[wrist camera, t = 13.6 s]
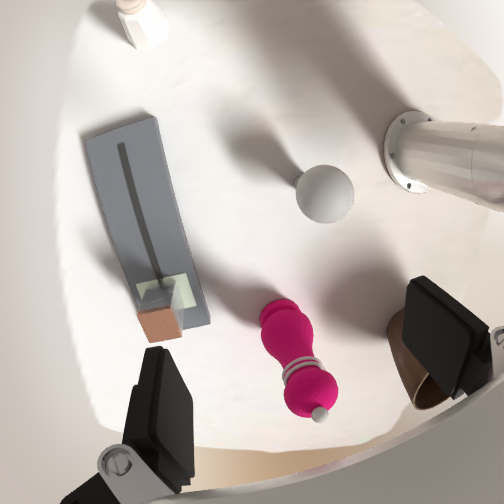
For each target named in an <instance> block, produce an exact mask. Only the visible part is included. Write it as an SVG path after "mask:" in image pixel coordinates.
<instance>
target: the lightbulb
mask: <svg viewBox="0 0 504 504" xmlns="http://www.w3.org/2000/svg"><path fill="white" fill-rule="evenodd" d="M295 188H296V199H297V203H298V205H299V208H300V209H301V211H302V212H303V213H304V214H305V215H306V216H307V217H308V218H309V219H311V220H313V221H315V222H319V223H333V222H336V221H338V220H340V219H342V218H343V217H344V216H345V215H346V214H347V213H348V212H349V211H350V209H351V207H352V205H353V201H354V188H353V185H352V183H351V181H350V179H349V177H348V176H347V175H346V174H345V173H344V172H343V171H341V170H340V169H338V168H336V167H334V166H330V165H319V166H315V167H313V168H310V169H309V170H307V171H306V172H305V173H304V174H302V175H300V176H298V177H297V178H296V180H295Z"/></svg>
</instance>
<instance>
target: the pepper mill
mask: <svg viewBox="0 0 504 504" xmlns="http://www.w3.org/2000/svg"><path fill="white" fill-rule="evenodd" d="M260 324H261V327H262V330H261V340H262V342H263V345H264V347H265V349H266V350H267V351H268V353H269V354H270V355H271V356H273V357H274V358H275V359H277V360H278V361H279V362H280V364H281V365H282V367H283V369H284V370H283V373H282V379H283V381H284V385H285V389H284V400H285V403H286V405H287V407H288V408H289V409H290V410H291V411H292V413H294V414H296V415H298V416H301V417H306V418H311V417H312V419H313V420H314V421H315V422H317V423H322V422H324V421H326V420H327V418H328V415H329V413H328V410H329V409H330V408H331V407H332V406H333V405H334V403H335V402H336V400H337V397H338V386H337V383H336V380H335V379H334V377H333V376H332V375H331V374H330V373H329V372H327V371H325V368H324V366H323V365H322V362H321V361H320V360H319V359H317V358H315V357H314V354H313V351H312V343H313V328H312V325H311V323H310V320H309V319H308V317H307V316H306V315H304V314H303V313H301V311H300V309H299V307H298V306H297V305H296V304H295V303H294V302H292V301H290V300H283V299H282V300H276V301H273V302H271V303H270V304H268V305H267V306H266V307H265V308H264V309H263V311H262V312H261V315H260Z"/></svg>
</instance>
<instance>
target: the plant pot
mask: <svg viewBox="0 0 504 504" xmlns="http://www.w3.org/2000/svg"><path fill="white" fill-rule="evenodd" d="M404 312H405V309H403V310H401V311H400V312H398V313H397V314H396V315H395V316H394V317H393V319H392V320H391V321H390V323H389V326H388V329H387V336H388V340H389V344H390V348H391V352H392V355H393V358H394V361H395V364H396V367H397V370H398V372H399V375H400V377H401V380H402V382H403V384H404V387H405V389H406V391H407V393H408V395H409V397H410V399H411V401H412V403H413V406H414V407H415V408H416V409H418V410H426V409H430V408H433V407H435V406H437V405H439V404H441V403H442V402H444V401H445V400H447V399H448V398H449V397H451V396H450V395H446V394H445V393H444V392H443V391H442V389H441V388H440V387H439V386H438V384H437V383H436V382H435V381H434V379H433V378H432V377H431V376H430V374H429V373H428V372H427V371H426V370H425V368H424V367H423V366H422V365H421V364H420V362H419V361H418V360H417V359H416V358H415V356H414V355H413V354H412V353H411V352H410V351H409V349H408V348H407V347H406V346H405V345H404V343H403V341H402V329H403V321H404Z"/></svg>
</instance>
